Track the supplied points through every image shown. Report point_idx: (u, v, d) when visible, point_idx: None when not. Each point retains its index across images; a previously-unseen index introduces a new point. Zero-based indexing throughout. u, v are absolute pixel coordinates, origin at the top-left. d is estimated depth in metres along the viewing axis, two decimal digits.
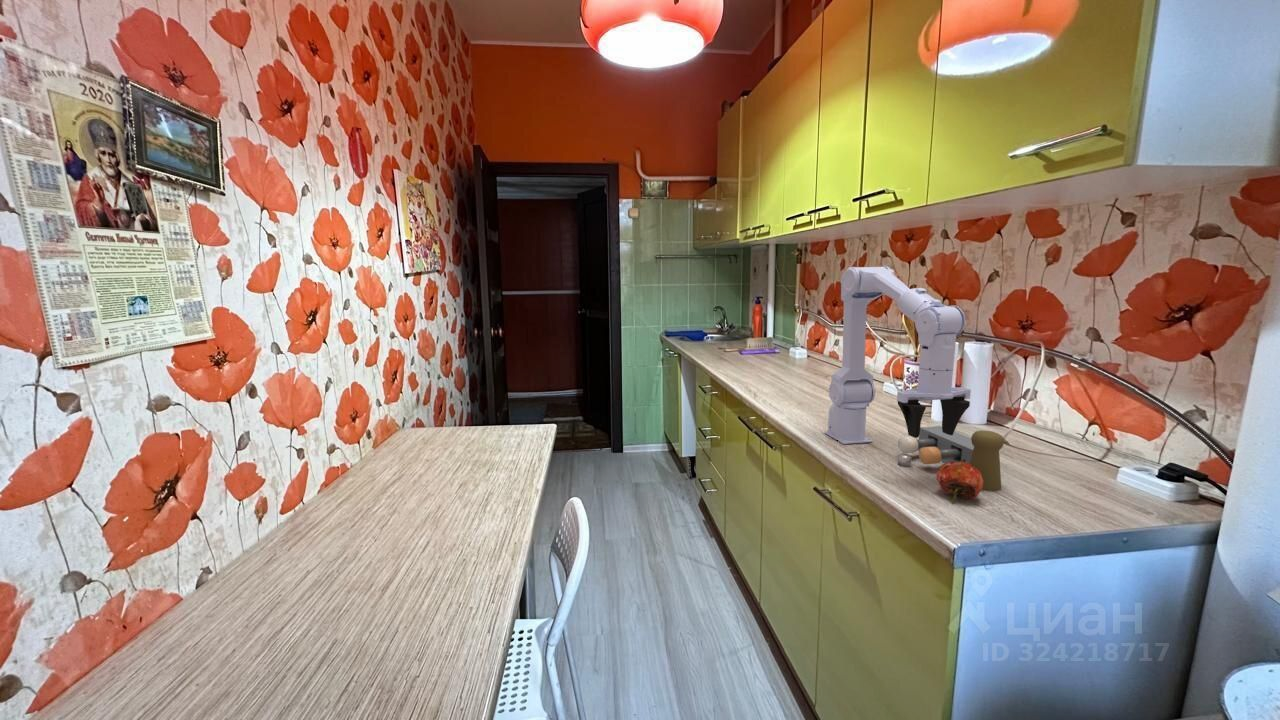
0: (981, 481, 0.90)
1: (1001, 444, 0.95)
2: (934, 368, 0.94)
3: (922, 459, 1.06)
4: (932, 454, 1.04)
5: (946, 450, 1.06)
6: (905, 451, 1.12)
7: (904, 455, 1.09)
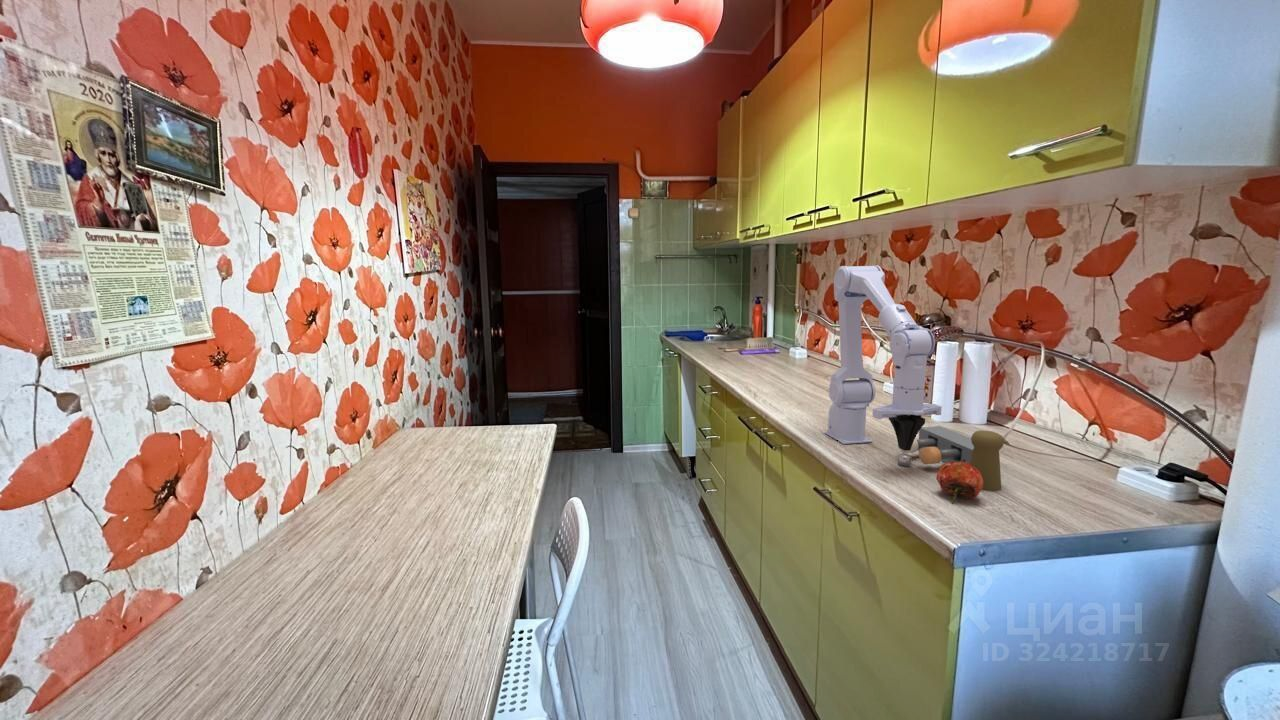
0: (981, 481, 0.90)
1: (1001, 444, 0.95)
2: (906, 387, 1.00)
3: (922, 459, 1.06)
4: (932, 454, 1.04)
5: (946, 450, 1.06)
6: (905, 451, 1.12)
7: (904, 455, 1.09)
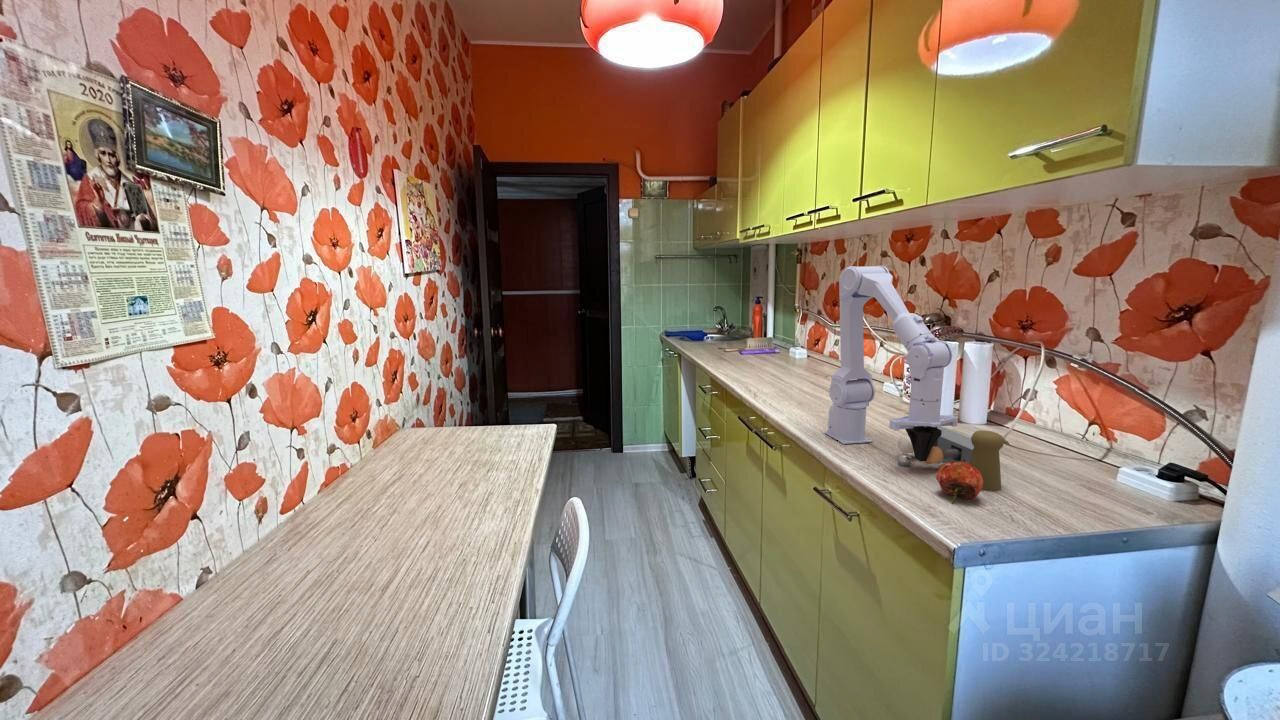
0: (981, 481, 0.90)
1: (1001, 444, 0.95)
2: (926, 399, 1.01)
3: None
4: (934, 454, 1.04)
5: (948, 450, 1.06)
6: (905, 451, 1.12)
7: (904, 455, 1.09)
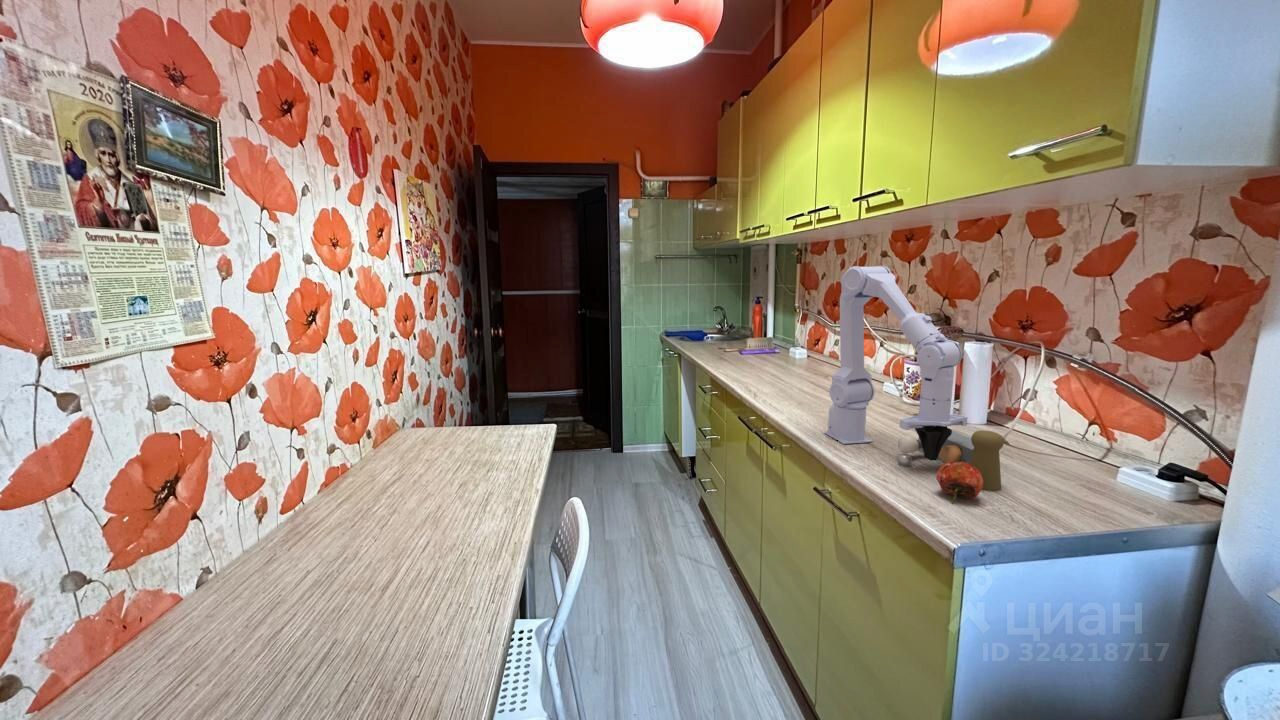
0: (981, 481, 0.90)
1: (1001, 444, 0.95)
2: (938, 399, 1.01)
3: (942, 457, 1.07)
4: (953, 452, 1.05)
5: None
6: (905, 451, 1.12)
7: (904, 455, 1.09)
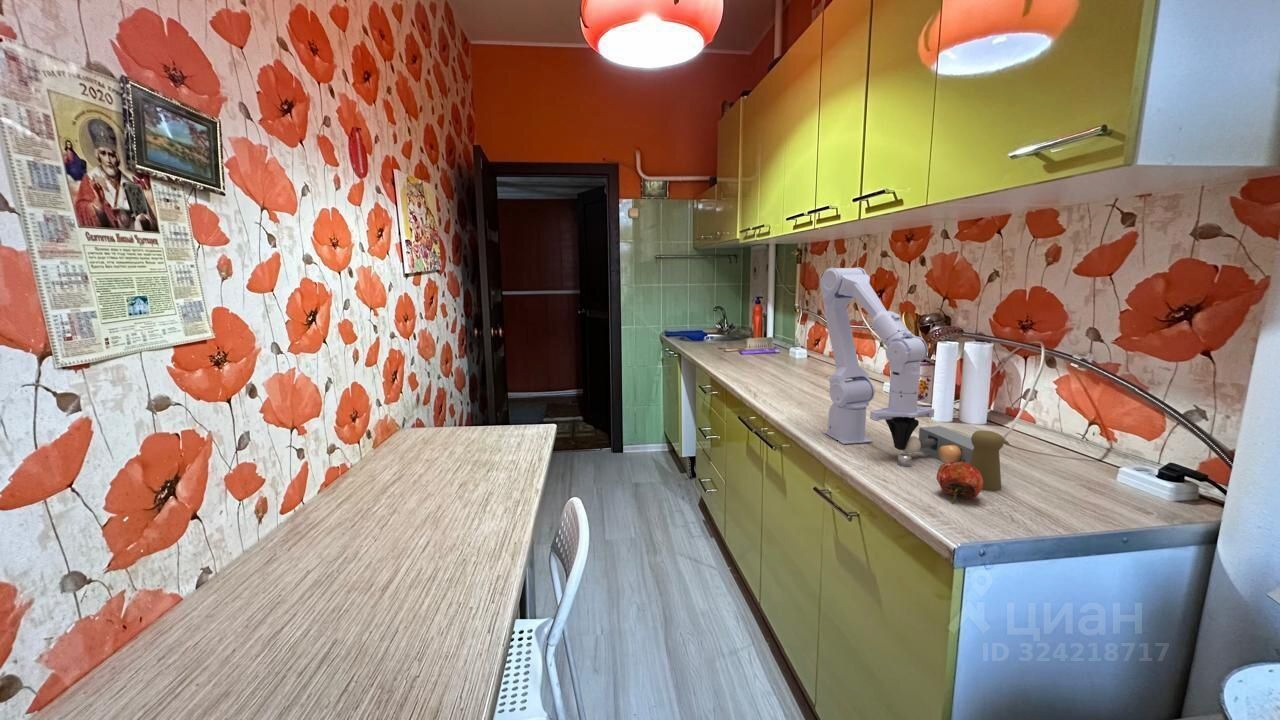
0: (981, 481, 0.90)
1: (1001, 444, 0.95)
2: (904, 391, 1.08)
3: (942, 457, 1.07)
4: (953, 452, 1.05)
5: None
6: (907, 451, 1.12)
7: (904, 455, 1.09)
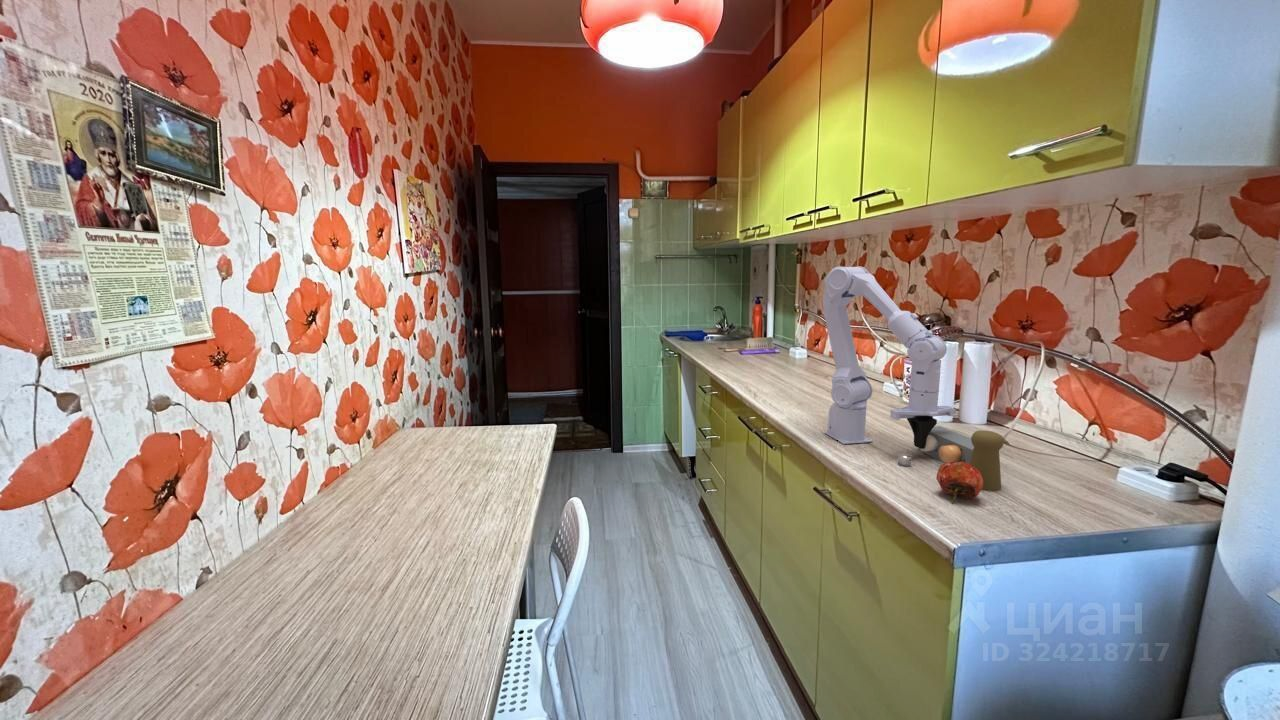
0: (981, 481, 0.90)
1: (1001, 444, 0.95)
2: (929, 390, 1.08)
3: (942, 457, 1.07)
4: (953, 452, 1.05)
5: None
6: (925, 449, 1.13)
7: (904, 455, 1.09)
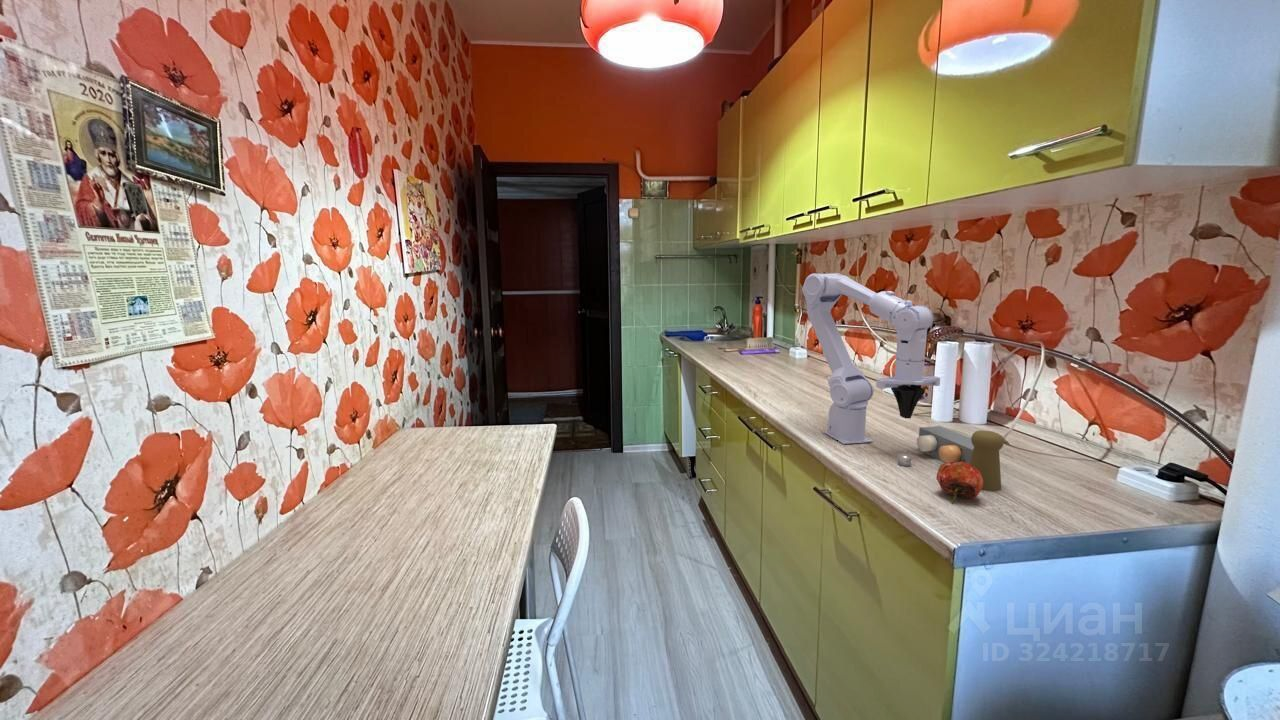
0: (981, 481, 0.90)
1: (1001, 444, 0.95)
2: (913, 359, 1.08)
3: (942, 457, 1.07)
4: (953, 452, 1.05)
5: None
6: (924, 449, 1.13)
7: (904, 455, 1.09)
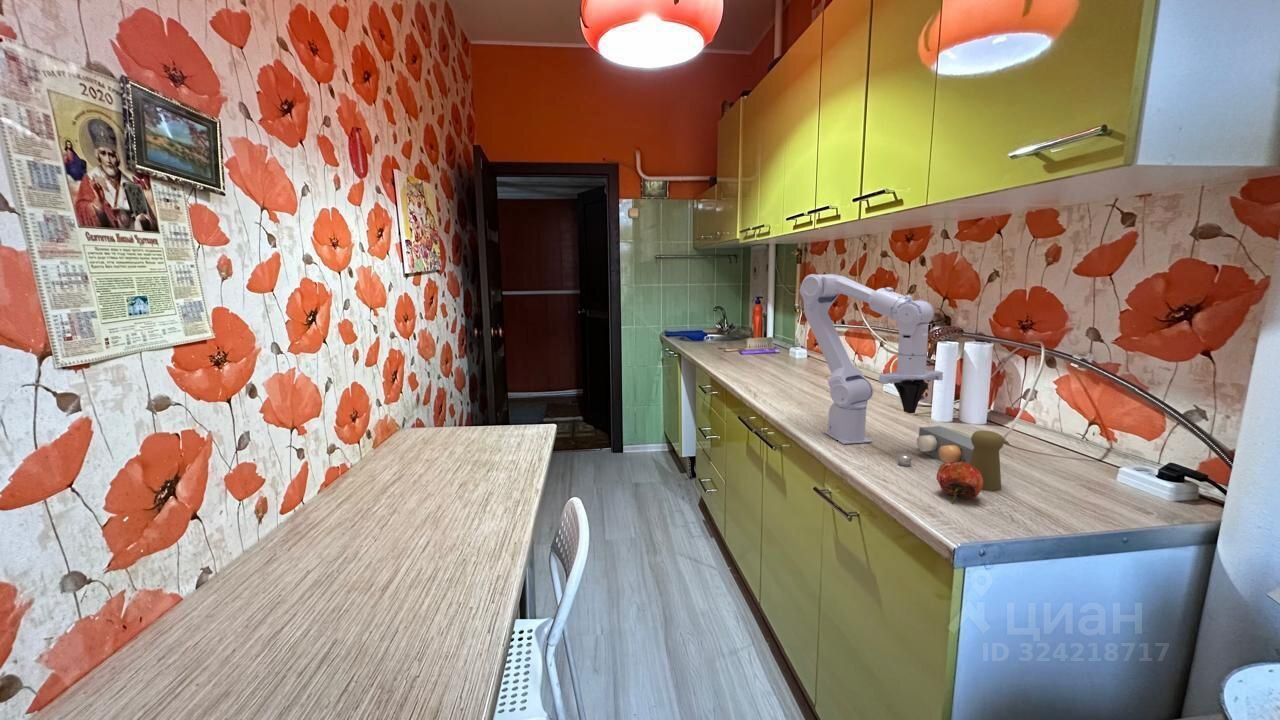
0: (981, 481, 0.90)
1: (1001, 444, 0.95)
2: (916, 353, 1.08)
3: (942, 457, 1.07)
4: (953, 452, 1.05)
5: None
6: (924, 449, 1.13)
7: (904, 455, 1.09)
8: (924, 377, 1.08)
